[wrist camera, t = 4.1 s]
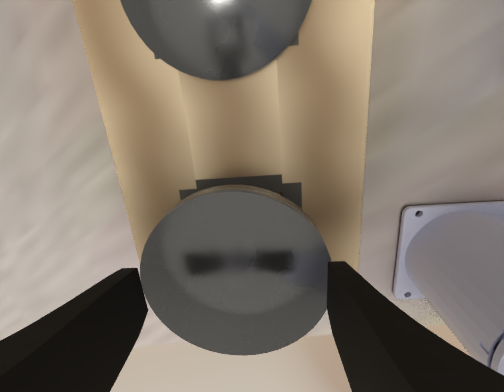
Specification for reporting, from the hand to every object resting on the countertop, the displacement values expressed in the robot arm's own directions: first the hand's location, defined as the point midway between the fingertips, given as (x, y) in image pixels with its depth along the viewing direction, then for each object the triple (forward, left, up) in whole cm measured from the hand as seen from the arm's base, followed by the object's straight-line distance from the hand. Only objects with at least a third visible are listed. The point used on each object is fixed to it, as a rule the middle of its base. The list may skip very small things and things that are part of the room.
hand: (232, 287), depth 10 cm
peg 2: (0, 0, -6) cm, 6 cm away
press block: (0, -6, -10) cm, 12 cm away
